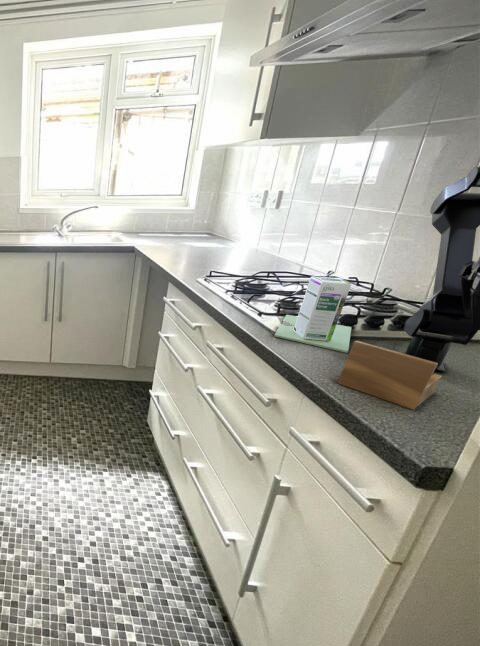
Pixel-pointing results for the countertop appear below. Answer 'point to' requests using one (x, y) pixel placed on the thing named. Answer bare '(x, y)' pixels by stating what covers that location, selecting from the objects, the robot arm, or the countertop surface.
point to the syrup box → (321, 308)
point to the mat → (337, 341)
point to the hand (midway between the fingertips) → (472, 323)
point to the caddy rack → (389, 375)
